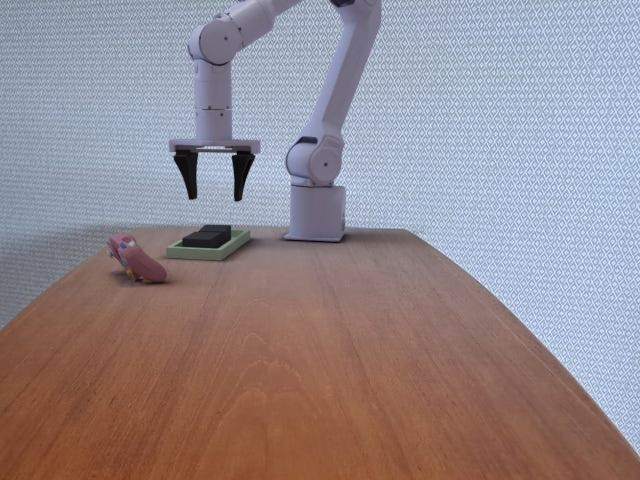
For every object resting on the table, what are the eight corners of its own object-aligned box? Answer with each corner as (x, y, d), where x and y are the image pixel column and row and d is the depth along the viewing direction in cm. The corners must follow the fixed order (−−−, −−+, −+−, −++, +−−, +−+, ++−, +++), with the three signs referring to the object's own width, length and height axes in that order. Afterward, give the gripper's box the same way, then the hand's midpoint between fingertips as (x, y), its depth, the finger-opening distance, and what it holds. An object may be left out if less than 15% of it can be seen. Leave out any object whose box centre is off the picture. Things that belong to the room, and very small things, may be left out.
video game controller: (122, 280, 95) (95, 237, 91) (149, 263, 96) (124, 220, 92) (141, 297, 87) (113, 251, 83) (171, 278, 87) (144, 231, 84)
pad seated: (195, 246, 108) (194, 231, 107) (221, 247, 107) (221, 232, 106) (182, 254, 102) (181, 238, 101) (210, 255, 101) (210, 239, 100)
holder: (202, 236, 118) (202, 227, 117) (250, 239, 116) (250, 229, 115) (166, 257, 102) (166, 247, 101) (221, 260, 100) (221, 249, 99)
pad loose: (205, 238, 114) (205, 224, 113) (231, 239, 113) (231, 224, 113) (198, 245, 108) (198, 230, 107) (225, 246, 108) (225, 231, 107)
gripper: (159, 109, 102) (163, 201, 107) (251, 110, 98) (252, 204, 103) (176, 109, 108) (180, 196, 113) (264, 109, 105) (263, 199, 110)
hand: (215, 199), depth 109 cm, fingers open, 7 cm apart
